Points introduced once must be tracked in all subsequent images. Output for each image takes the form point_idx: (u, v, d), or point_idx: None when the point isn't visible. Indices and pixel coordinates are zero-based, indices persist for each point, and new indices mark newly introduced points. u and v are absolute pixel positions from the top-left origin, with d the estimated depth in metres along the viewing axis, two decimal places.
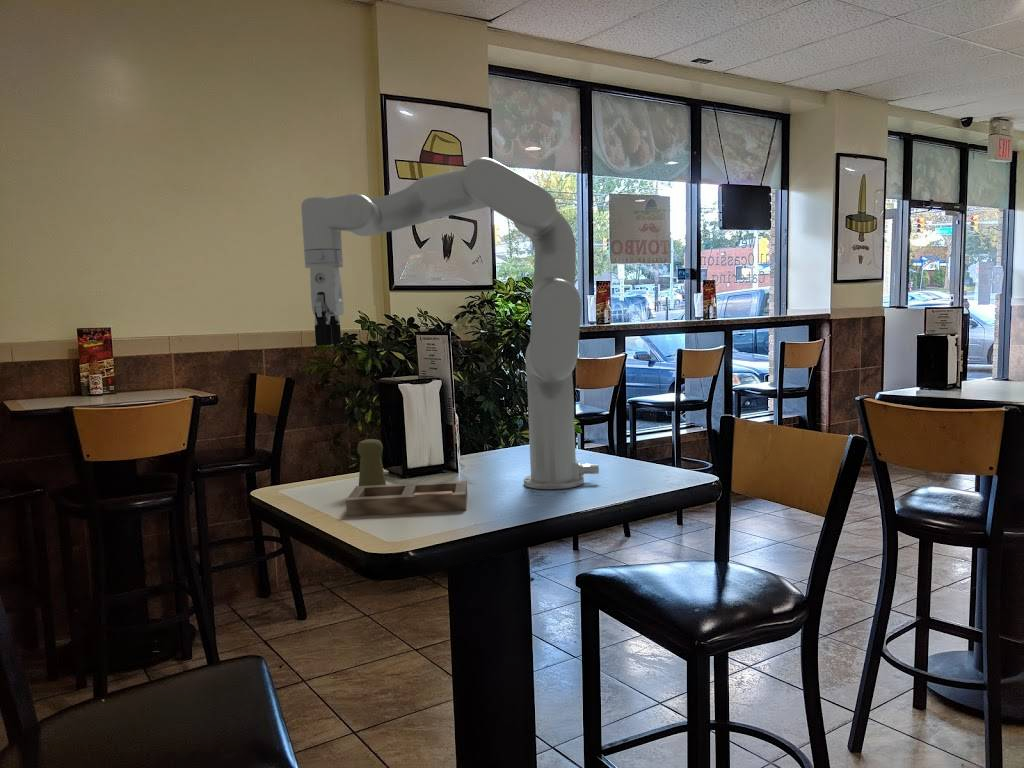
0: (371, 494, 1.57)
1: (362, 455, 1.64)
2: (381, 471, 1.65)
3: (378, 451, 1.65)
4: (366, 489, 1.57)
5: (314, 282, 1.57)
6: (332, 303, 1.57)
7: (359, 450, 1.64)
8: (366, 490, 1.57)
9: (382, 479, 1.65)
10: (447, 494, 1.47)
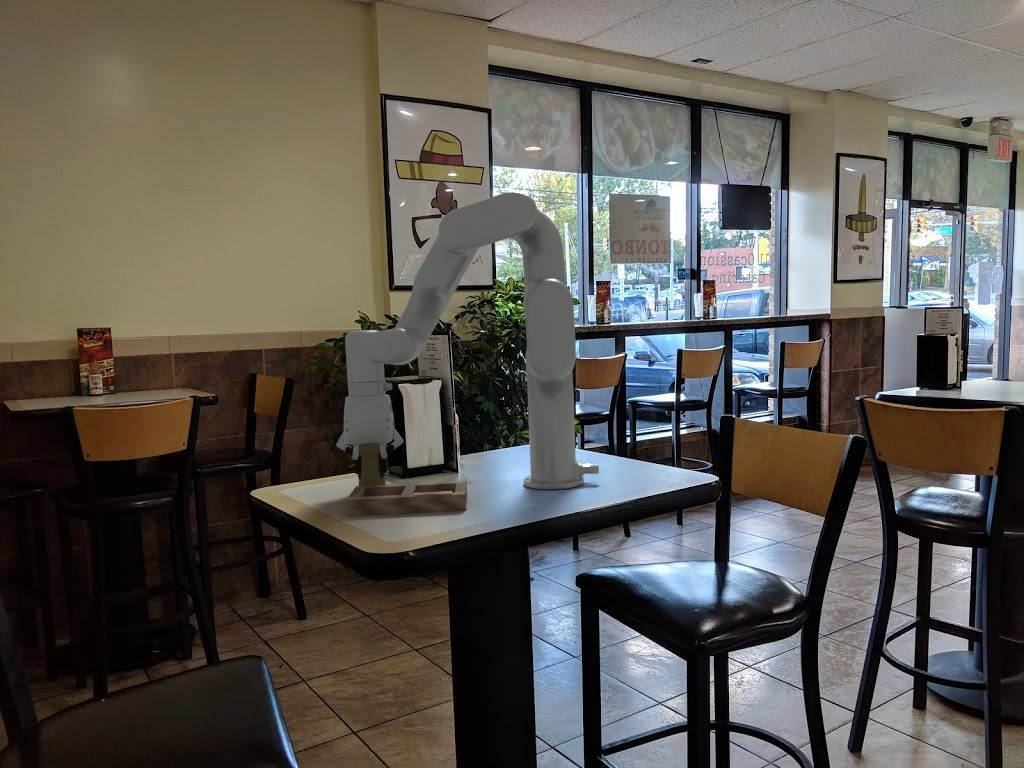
0: (371, 494, 1.57)
1: (362, 455, 1.64)
2: None
3: (378, 451, 1.65)
4: (366, 489, 1.57)
5: (390, 411, 1.64)
6: None
7: (359, 450, 1.64)
8: (366, 490, 1.57)
9: (382, 479, 1.65)
10: (447, 494, 1.47)
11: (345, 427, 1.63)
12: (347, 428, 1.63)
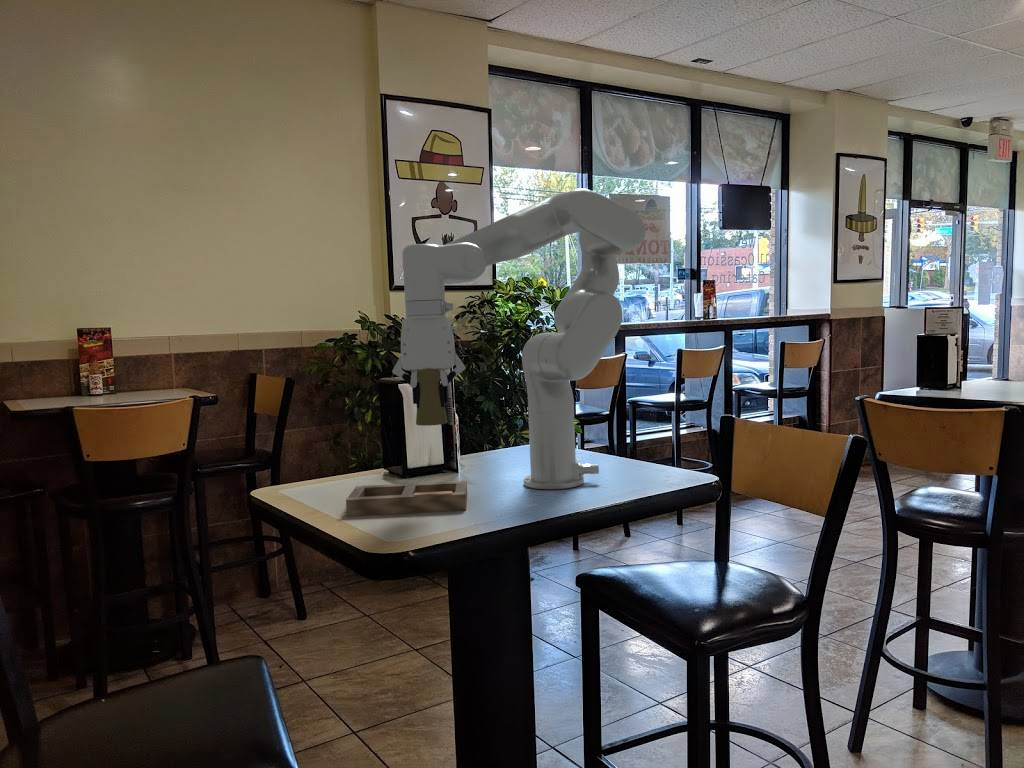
0: (371, 494, 1.57)
1: (421, 382, 1.49)
2: None
3: (439, 378, 1.50)
4: (366, 489, 1.57)
5: (451, 334, 1.49)
6: None
7: (417, 376, 1.49)
8: (366, 490, 1.57)
9: (442, 408, 1.50)
10: (447, 494, 1.47)
11: (403, 351, 1.49)
12: (404, 352, 1.48)
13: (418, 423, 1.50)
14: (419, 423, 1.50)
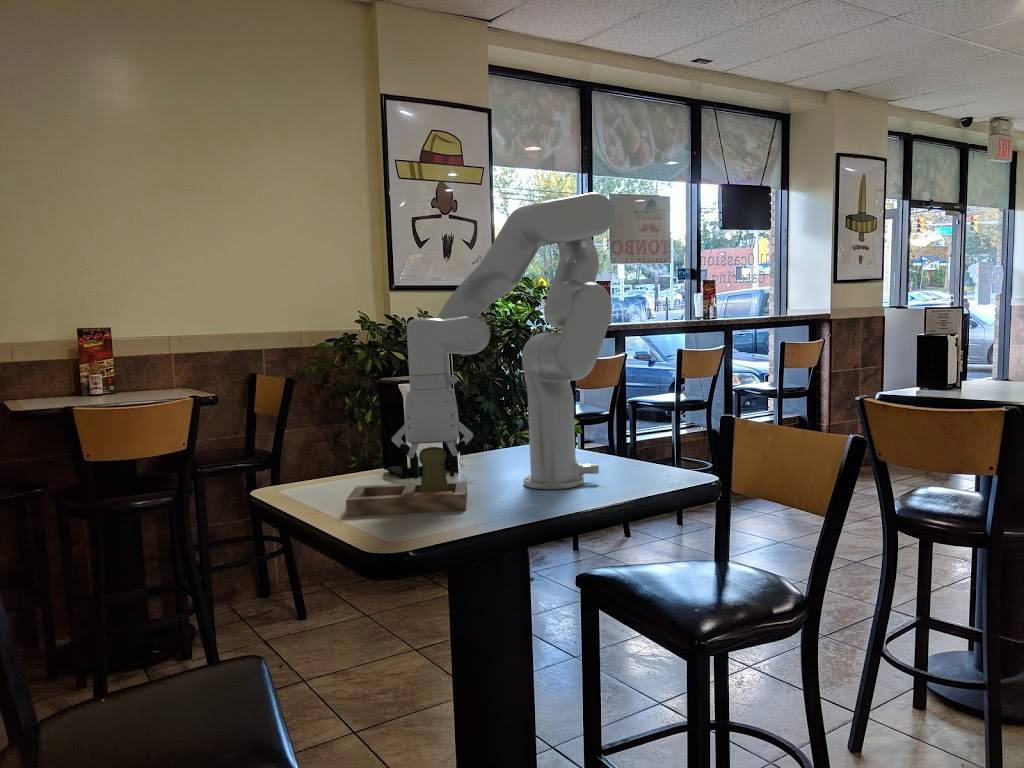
0: (371, 494, 1.57)
1: (425, 464, 1.51)
2: (445, 482, 1.52)
3: (443, 460, 1.51)
4: (366, 489, 1.57)
5: (455, 407, 1.51)
6: None
7: (422, 459, 1.51)
8: (366, 490, 1.57)
9: (446, 490, 1.52)
10: (447, 494, 1.47)
11: (407, 424, 1.50)
12: (409, 425, 1.50)
13: None
14: None
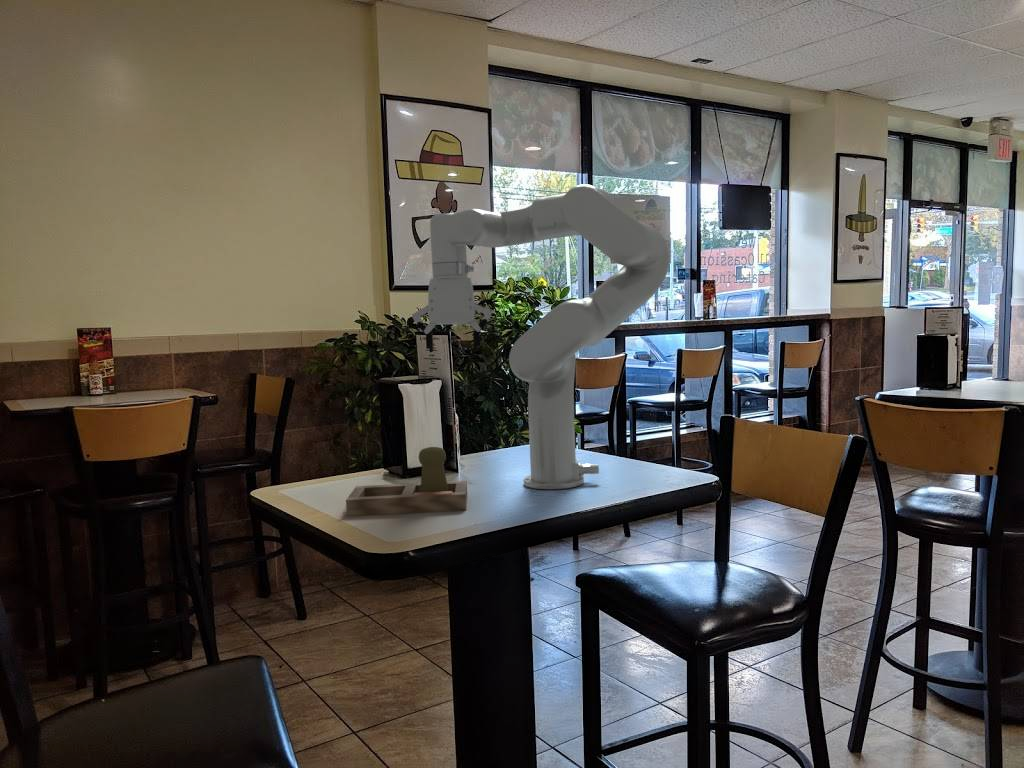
0: (371, 494, 1.57)
1: (425, 464, 1.51)
2: (444, 482, 1.52)
3: (442, 460, 1.51)
4: (366, 489, 1.57)
5: (472, 292, 1.72)
6: None
7: (421, 459, 1.51)
8: (366, 490, 1.57)
9: (446, 490, 1.52)
10: (447, 494, 1.47)
11: (430, 307, 1.71)
12: (431, 307, 1.71)
13: None
14: None
